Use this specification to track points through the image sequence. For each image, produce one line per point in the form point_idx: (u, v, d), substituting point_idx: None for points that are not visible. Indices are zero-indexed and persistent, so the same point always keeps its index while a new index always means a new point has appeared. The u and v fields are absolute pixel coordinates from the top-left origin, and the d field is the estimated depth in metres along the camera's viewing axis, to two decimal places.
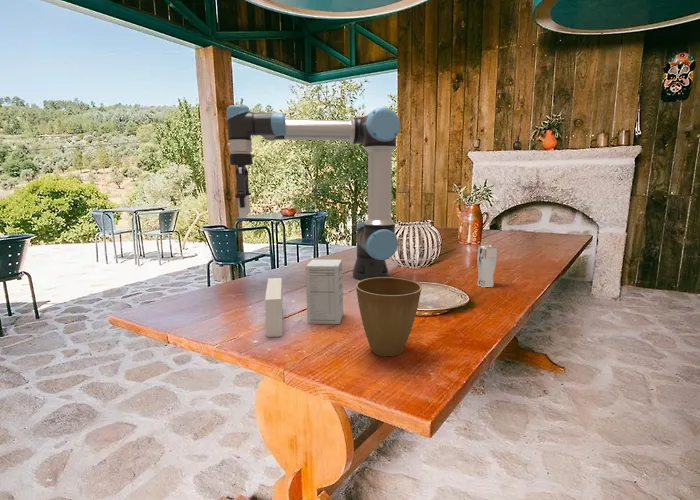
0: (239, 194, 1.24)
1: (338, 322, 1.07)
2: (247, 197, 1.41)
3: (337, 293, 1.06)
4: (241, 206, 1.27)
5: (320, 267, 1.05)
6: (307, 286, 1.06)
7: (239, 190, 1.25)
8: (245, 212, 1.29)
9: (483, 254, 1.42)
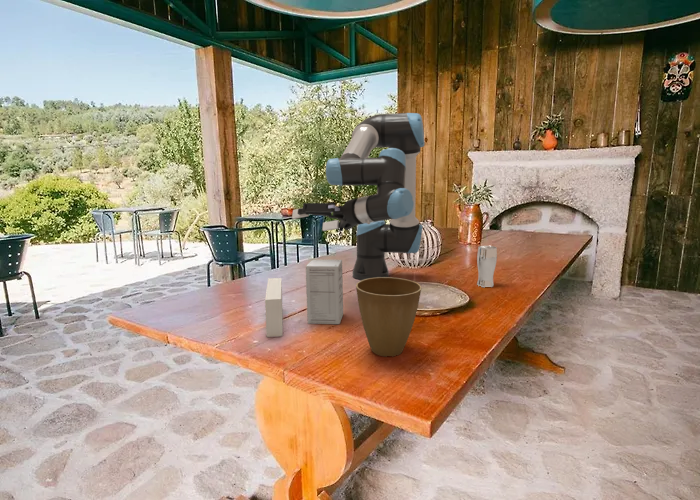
0: None
1: (338, 322, 1.07)
2: None
3: (337, 293, 1.06)
4: None
5: (320, 267, 1.05)
6: (307, 286, 1.06)
7: None
8: None
9: (483, 254, 1.42)
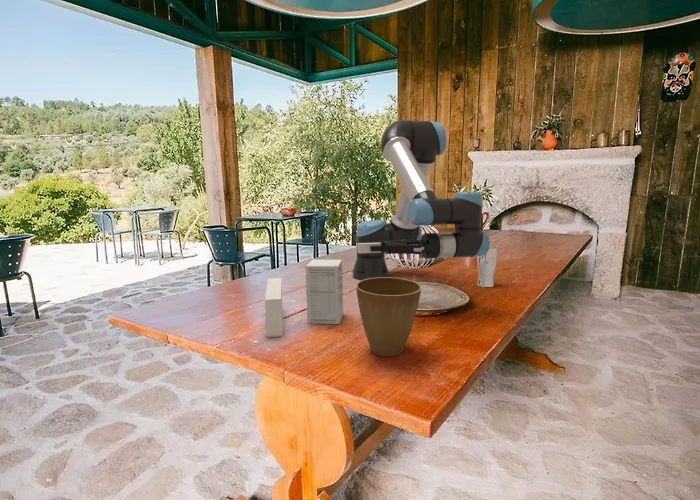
0: None
1: (338, 322, 1.07)
2: None
3: (337, 293, 1.06)
4: None
5: (320, 267, 1.05)
6: (307, 286, 1.06)
7: None
8: None
9: None
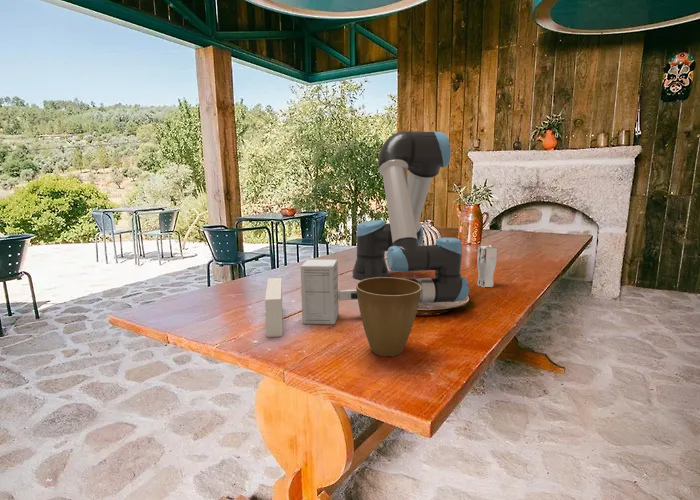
0: None
1: (333, 322, 1.07)
2: None
3: (332, 293, 1.05)
4: None
5: (315, 267, 1.05)
6: (302, 286, 1.06)
7: None
8: None
9: (483, 254, 1.42)
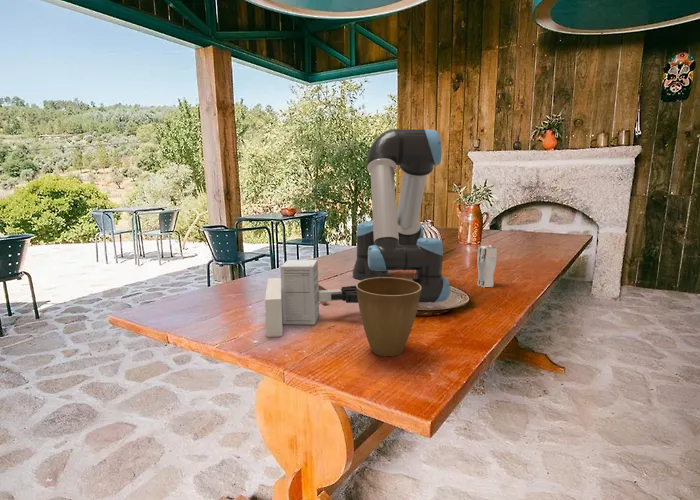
0: None
1: (313, 322, 1.07)
2: None
3: (312, 293, 1.05)
4: None
5: (295, 267, 1.04)
6: (282, 287, 1.06)
7: None
8: None
9: (483, 254, 1.42)
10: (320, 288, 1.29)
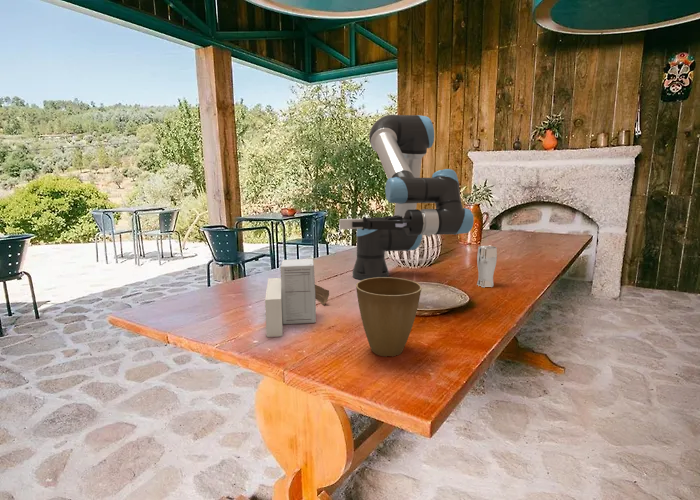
0: None
1: (314, 321, 1.08)
2: None
3: (313, 292, 1.07)
4: None
5: (295, 267, 1.05)
6: (282, 287, 1.06)
7: None
8: None
9: (483, 254, 1.42)
10: (319, 288, 1.29)
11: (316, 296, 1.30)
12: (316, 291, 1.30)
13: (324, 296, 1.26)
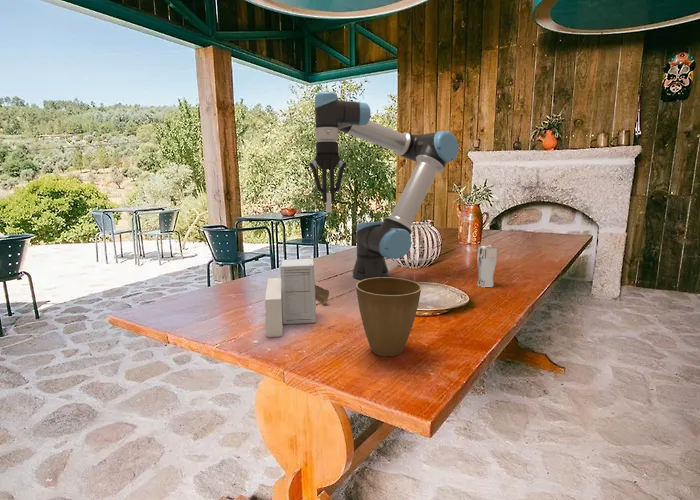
0: None
1: (314, 321, 1.08)
2: None
3: (313, 292, 1.07)
4: (333, 200, 1.33)
5: (295, 267, 1.05)
6: (282, 287, 1.06)
7: None
8: None
9: (483, 254, 1.42)
10: (319, 289, 1.29)
11: (316, 296, 1.30)
12: (315, 291, 1.30)
13: (324, 296, 1.26)
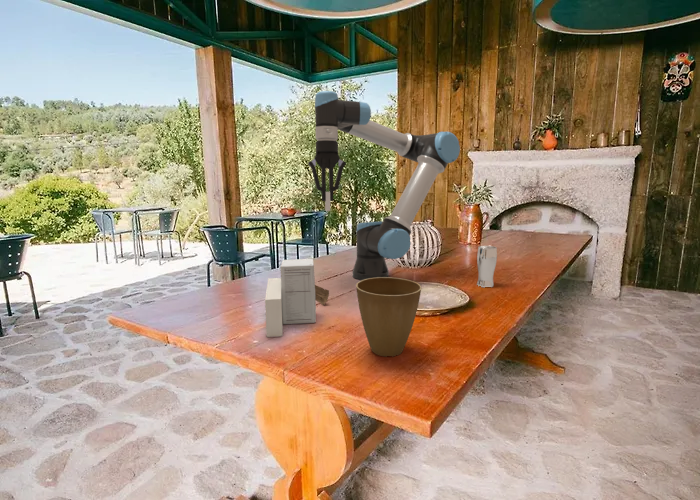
0: (337, 189, 1.33)
1: (314, 320, 1.08)
2: None
3: (313, 292, 1.07)
4: (332, 199, 1.33)
5: (295, 267, 1.05)
6: (282, 287, 1.06)
7: None
8: None
9: (483, 254, 1.42)
10: (318, 289, 1.29)
11: (315, 296, 1.30)
12: (315, 291, 1.30)
13: (324, 296, 1.26)
